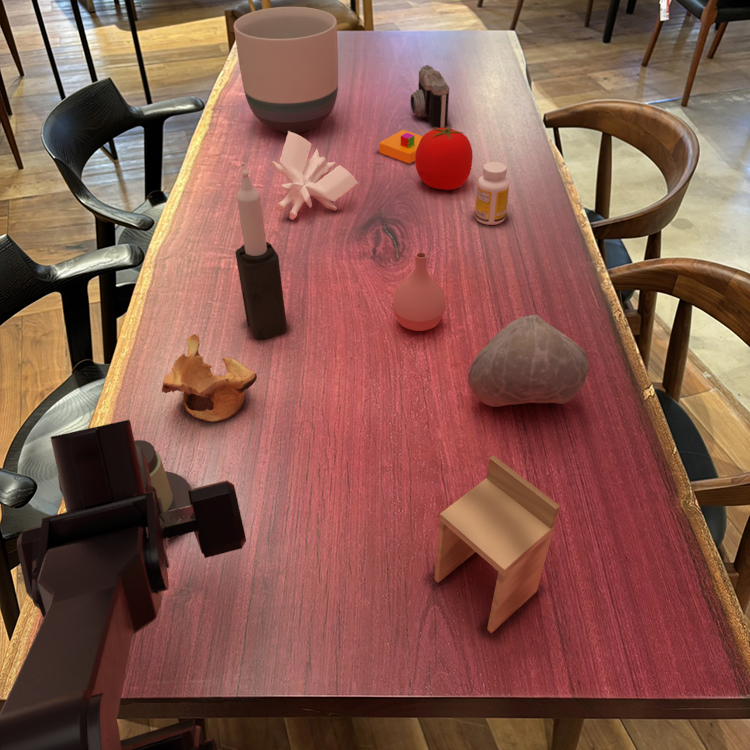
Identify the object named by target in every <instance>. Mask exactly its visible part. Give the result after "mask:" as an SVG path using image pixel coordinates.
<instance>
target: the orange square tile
mask: <svg viewBox="0 0 750 750" xmlns="http://www.w3.org/2000/svg"><path fill="white" fill-rule="evenodd" d="M423 136H424V135H421V134H418V133H414V132H412V131H409V130H406V129H402V130H399V131H398V132H396V133H394V134H392V135H390V136H388V137H387V138H385V139H383V140H382V141H380V142H378V143H379V144H378V152H379V154H382V155H384V156H387V157H390V158H392V159H394V160H395V159H396V160H398V161H401V162H403V163H405V164H409V165H411V164H412V163H415V154H416V150H417V147H418V145H419V142H420V140H421V139H422V137H423Z"/></svg>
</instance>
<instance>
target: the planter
mask: <svg viewBox="0 0 750 750" xmlns="http://www.w3.org/2000/svg"><path fill="white" fill-rule="evenodd" d="M233 31H234V38H235V45H236V53H237V59H238V65H239V71H240V76H241V81H242V87H243V92H244V96H245V98H246V99H245V100H246V101H247V105H248V106H249V109H250V110H251V112H252V114H253V115H254V117H256V119H258V120H259V122H261V123H262V124H263V125H265V126H266V127H268V128H269V129H272V130H273V131H276V132H279V133H284V134H288V131H290V132H292V133H295V134H299V133H300V134H301V133H305V132H308V131H311V130H314V129H315V128H317V127H319V126H320V125H322V123H324V122H325V121H326V120H327V119H328V117H330V115H331V114H332V112H333V110H334V107H335V105H336V102H337V97H338V93H339V92H338V91H339V46H338V45H339V44H338V43H339V42H338V20H337V18H336V17H335V15H333V14H332V13H331V12H328V11H325V10H322V9H318V8H313V7H304V6H277V7H270V8H263V9H258V10H255V11H251V12H249V13H246V14H243V15H241V16H240V17H238V18H237V19H236V20H235V21H234V23H233Z"/></svg>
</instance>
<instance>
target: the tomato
mask: <svg viewBox="0 0 750 750" xmlns="http://www.w3.org/2000/svg"><path fill="white" fill-rule="evenodd" d="M452 128H453V125H451V126H450V127H444V128H432V129H430V130H429V131H427V132H426V133H425V134H423V135H422V136H423V137H422V139H421V140H420V142H419V145H418V147H417V150H416V154H415V161H414V163H415V170H416V172H417V175H418V177H419V178H420V180H421V181H422V182H423V184H425V185H427V186H428V187H430V188H433V189H438V190H443V191H445V190H446V191H450V190H456V189H458V188H460V187H462V186H463V185H464V184H465V183H466V182H467V181H468V179H469V176H471V171H472V168H473V159H474V158H473V157H474V155H473V147H472V144H471V142H470V140H469V137H467V136H466V135H465V132H462V131H459V130H456V129H452Z"/></svg>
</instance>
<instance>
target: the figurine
mask: <svg viewBox="0 0 750 750" xmlns="http://www.w3.org/2000/svg"><path fill="white" fill-rule="evenodd" d="M311 148H312V143H311V142H310V141H309V140H307V139H306V138H305V137H302V136H301V135H299V134H298V133H292V132H290V131H288V133H287V135H286V137H285V142H284V144H283V147H282V152H281V156H280V158H279V163H278V162H276V161H274V160H272V161H271V166H272V167H273V168H274V170H275V171H276V172H277V173H278V174H280V175H283V176H284V177H285V178H286V179H288V180H290V181H291V182H288V183H283V184H281V188H284V189H287V190H289V191H288V193H287V194H286V195H285V197H283V199H282V200H281V201H279V202H278V203H277V206H276V210H277V211H278V212H281V211H282V210H284V209H285V208H286V207H287V206H288V205H290V204H292V205H293V206H292V208H291V210H290V211H289V219H290V220H291V221H293V220H295V219H296V218H297V216H298V212H299V211H300V210H301V209H302V206H303V205H304V203H306V205H307V206H308V207H309V208H310V209H311V208H312V207H313V203H312V199H311V197H312V198H314V199H316V200H317V201H318V202H320V203H321V204H322V205H323V207H325V208H326V209H329V210H333V212H335V211H337V210H338V207H337V206H336V205H335V204H334V203H333V202H336V201H337V200H338V199H339V198H341V197H342V196H344V195H345V194H346V193H348V192H349V191H350V190H351V189H353V188H354V187H355V186H356V185H359V182H358V181H357V179H356V178H355V177H354V176H353V174H352V173H351V172H349V171H348V170H347V169H346V168H345V167H343V166H342V165H340V164H339V165H337V166H336V167H334V166H335V164H336V163H337V162H336V161H334V162H333V161H331V162H329V161H328V162H327V159H326V157H325V156H321V155H320V153H319V150H318V148H316V149H315V151H314V152H313V153H312V156H311V157H310V158H309V154H310V151H311V150H312V149H311ZM333 167H334V169H332V168H333ZM331 169H332V170H331ZM330 170H331V171H330ZM329 171H330V172H329Z"/></svg>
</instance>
